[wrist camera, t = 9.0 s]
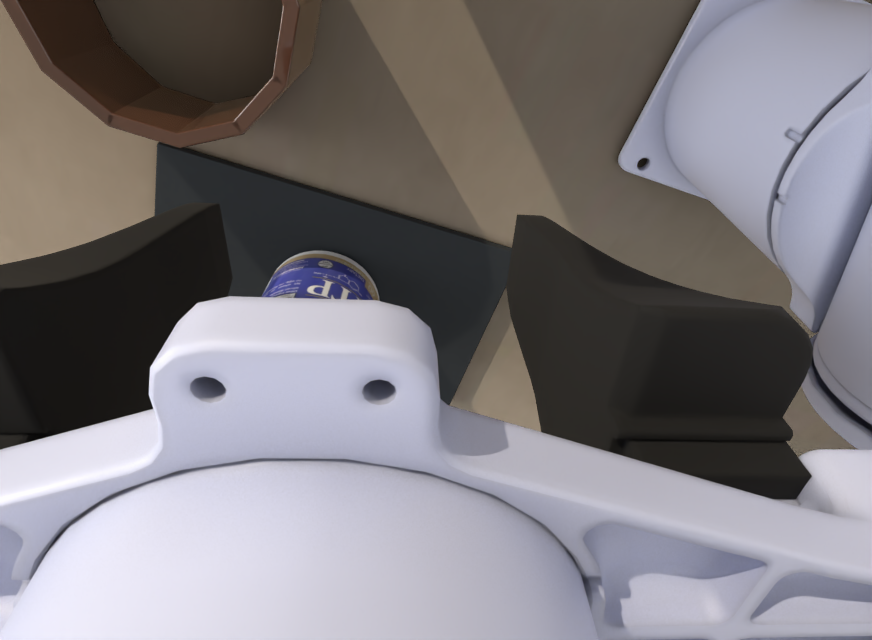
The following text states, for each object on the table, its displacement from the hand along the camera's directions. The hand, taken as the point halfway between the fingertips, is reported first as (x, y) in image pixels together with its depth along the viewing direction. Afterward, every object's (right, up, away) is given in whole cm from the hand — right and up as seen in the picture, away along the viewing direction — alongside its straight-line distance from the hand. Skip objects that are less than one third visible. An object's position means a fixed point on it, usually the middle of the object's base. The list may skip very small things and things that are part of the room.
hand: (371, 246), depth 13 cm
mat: (-4, 0, +13) cm, 14 cm away
